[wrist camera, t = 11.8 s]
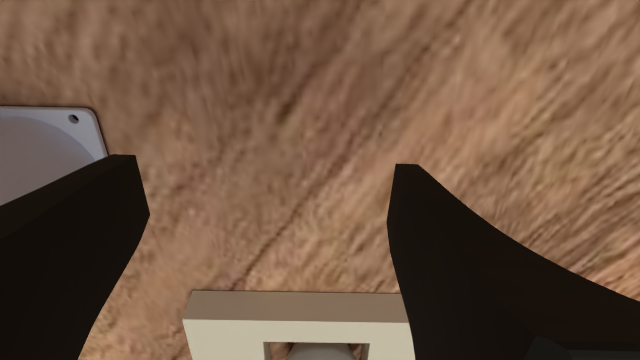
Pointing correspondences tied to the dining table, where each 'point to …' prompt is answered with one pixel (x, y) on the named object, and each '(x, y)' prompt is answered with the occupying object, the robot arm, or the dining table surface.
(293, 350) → the salt shaker
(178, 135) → the dining table surface
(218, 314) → the socket block
